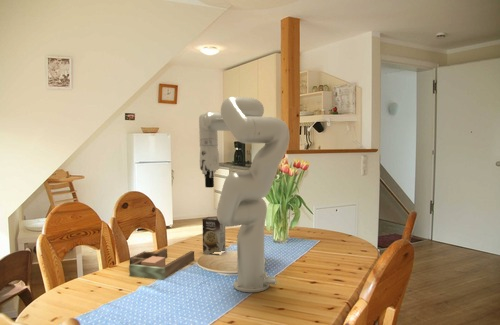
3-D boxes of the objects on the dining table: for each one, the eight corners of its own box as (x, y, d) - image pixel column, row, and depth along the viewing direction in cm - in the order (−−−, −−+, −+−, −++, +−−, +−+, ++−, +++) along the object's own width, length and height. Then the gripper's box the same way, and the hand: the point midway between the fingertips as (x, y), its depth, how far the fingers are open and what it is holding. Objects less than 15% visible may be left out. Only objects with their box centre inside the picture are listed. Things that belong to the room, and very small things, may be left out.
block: (165, 269, 149) (165, 257, 149) (154, 275, 142) (154, 262, 142) (152, 268, 151) (152, 256, 151) (141, 274, 144) (141, 261, 144)
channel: (194, 260, 160) (194, 251, 160) (163, 279, 137) (162, 268, 137) (153, 256, 167) (152, 247, 167) (116, 274, 144) (116, 263, 144)
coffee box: (202, 253, 170) (201, 218, 169) (209, 250, 176) (208, 216, 175) (220, 255, 166) (219, 220, 166) (226, 251, 172) (225, 217, 172)
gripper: (209, 143, 146) (210, 189, 147) (224, 143, 160) (224, 185, 161) (192, 143, 148) (193, 189, 149) (208, 143, 163) (209, 185, 163)
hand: (209, 187), depth 155 cm, fingers closed
